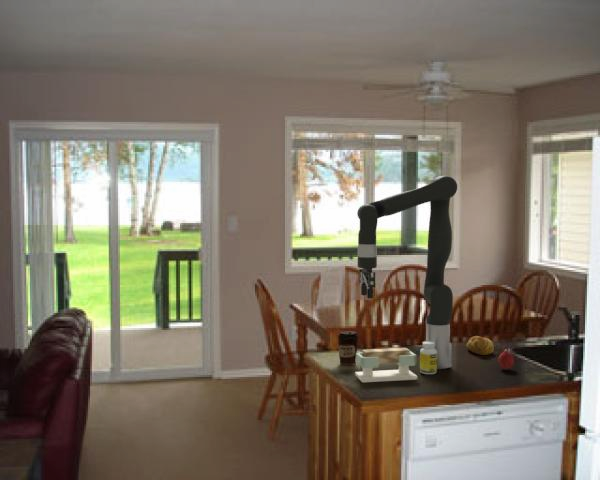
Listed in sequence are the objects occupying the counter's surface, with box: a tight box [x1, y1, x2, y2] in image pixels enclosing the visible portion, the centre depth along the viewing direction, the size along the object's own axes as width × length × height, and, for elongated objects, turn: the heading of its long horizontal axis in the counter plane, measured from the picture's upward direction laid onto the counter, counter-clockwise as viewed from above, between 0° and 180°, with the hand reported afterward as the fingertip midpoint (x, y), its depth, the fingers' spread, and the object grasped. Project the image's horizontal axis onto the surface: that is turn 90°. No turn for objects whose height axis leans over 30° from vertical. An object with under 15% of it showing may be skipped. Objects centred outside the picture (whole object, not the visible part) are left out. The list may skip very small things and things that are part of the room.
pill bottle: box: [419, 340, 438, 375], centre depth 248 cm, size 6×6×12 cm
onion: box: [497, 349, 515, 371], centre depth 252 cm, size 6×6×8 cm
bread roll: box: [465, 335, 495, 356], centre depth 280 cm, size 13×10×8 cm
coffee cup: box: [337, 330, 359, 366], centre depth 261 cm, size 9×8×13 cm
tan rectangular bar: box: [362, 347, 411, 365], centre depth 242 cm, size 17×4×4 cm, turn 101°
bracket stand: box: [354, 350, 418, 383], centre depth 242 cm, size 21×10×9 cm, turn 100°
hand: (367, 296), depth 255 cm, fingers open, 8 cm apart
